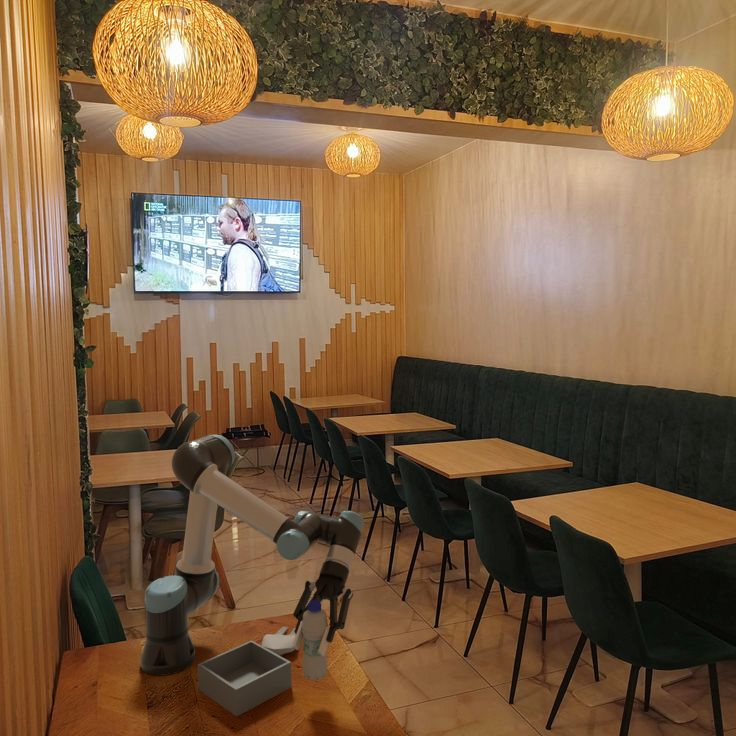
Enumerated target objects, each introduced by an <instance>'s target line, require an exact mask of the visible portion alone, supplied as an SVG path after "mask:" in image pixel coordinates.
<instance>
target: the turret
mask: <svg viewBox="0 0 736 736" xmlns="http://www.w3.org/2000/svg"><path fill="white" fill-rule="evenodd" d="M295 628H296V627H293V630H292V631H291V632H290V633H289V634H288V635H287V634H286V633H287V632H288V629H289V627H288V626H282V627H281V628H280V629H279V630H278V631H277V632H276V633H275V634H274V633H273V634H271V633H270V634H269V633H267V634H265V635H263V639H262V642H261V644H260V645H261V646H263V647H265V648H267V649H268V650H270V651H272V652H274V653H276V654H277V655H279V656H283V655H284V654H288V653H292V652H294V651H295V650H296V649H295V648H294V647H293V646H292V645H293V642H294V639H295V636H296V634H295Z"/></svg>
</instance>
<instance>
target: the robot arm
mask: <svg viewBox="0 0 736 736" xmlns="http://www.w3.org/2000/svg"><path fill="white" fill-rule="evenodd" d="M235 454H236V453H235V449H234V446H233V444H232V443H231V442H230V440H228V439H227V438H226V437H224V436H223V435H221V434H220V435H219V434H208V435H204V436H202V437H201V438H200V437H199V438H196V439H194V440H190V441H186V442H184V443H182V444H180V445H179V446H178V447H177V449H175V451H174V453H173V455H172V458H171V469H172V472H173V475H174V477H176V479H177V480H178V482H180V483H181V484H182V485H183V486H184V487H185V488H186V489H188V490H189V497H188V498H189V499H188V507H187V514H186V516H187V517H186V523H185V531H184V532H185V533H184V539H183V548H182V556H181V558H180V559H179V560H178V561H176V565H175V572H174V573H175V574H174V575H166V576H163V577H159V578H157V579H155V580H154V581H151V583H150V584H149V585H148V586H147V587H146V589H145V591H144V602H143V603H144V615H145V617H144V618H145V632H146V635H145V636H146V637H145V638H146V640H145V642H144V646H143V648H142V653H141V656H140V668H141V670H142V672H144V673H146V674H149V675H153V676H166V675H172V674H176V673H179V672H181V671H184V670H185V669H188V668H189V667H190V666H191V665H192V664H193V663H194V662H195V661H196V649H195V645H194V643H193V641H192V638H191V635H190V633H189V619H188V617H189V616H190V615H191V614H192V613H194V612H195V611H196V610H198V609H199V608H200V607H202V606H203V605H205V604H206V603H207V602H209V601H210V600H211V599H212V598H213V596H214V595H215V594H216V593H217V591H218V589H219V586H220V576H219V572H217V569H216V566H215V565H216V564H215V562H214V561H213V560H212V551H213V543H214V536H215V529H216V527H215V526H216V520H217V519H216V518H217V511H218V506H220V507H221V508H223V509H224V510H225V511H227V512H228V513H230V514H232V515H233V516H234V517H236V518H237V519H239V520H240V521H242V522H243V523H245V524H246V525H247V526H249V527H250V528H252V529H253V530H255V531H257V533H259V534H261V535H263V537H265V538H267V539H269V540H270V541H271V542H273V543H274V544H276V549H277V552H278V553H279V555H280V557H282V558H283V559H284V560H287V561H288V560H289V561H295V560H297V559H299V558H300V557H303V556H304V555H305V554H306V553H308V552H309V550H310V549H311V548H312V547H314V546H315V545H316V544H317V543H318V542H319V543H324V544H329V546H328V549H327V553H326V554H325V557H324V562H323V563H322V565H321V568H320V572H319V576H318V578H317V579H316V581H313V582H312V581H311V582H310V581H309V580H306V581H305V583H304V590H303V592H302V594H301V596H300V598H299V600H298V603H297V605H296V607H295V609H294V611H293V614H292V615H293V617H294V618H295V619H296V620H297V622H296V625H295V627H294V628H295V634H296V636H295V639H294V642H293V645H292V646H293V647H294V648H295V650H296V651H299V650H300V648H301V644H302V643H303V632H302V621H303V614H304V612H306V611H307V610H308V604H309V602H310V601H313V600H317V601H319V602H320V603H321V602H322V601H323V600H325V601H326V600H327V601H329V623H328V626H326V629H325V632H324V635H323V638H322V641H321V644H320V648H319V651H318V653H319V654H320V655H321V656H325V653H326V654H327V649H328V645H329V644H330V643H332V642H333V641H334V638H335V635H336V631H338V630H344V629H345V627H346V621H347V616H348V611H349V608H350V607H349V606H350V602H351V600H352V598H353V597H354V592H353V591H352V589H350V588H346V583H347V580H348V577H349V575H350V574H349V573H350V570H351V568H352V564H353V561H354V558H355V555H356V552H357V549H358V546H359V542H360V539H361V537H362V535H363V529H364V526H365V520H364V518H363V516H362V515H361V514H360V513H358V512H355V511H352V510H344V511H341V513H340V515H339V516H338V517H336V516H330V515H326V514H321V513H317V512H314V511H307V510H300V511H299V512H297V513H296V515H295V516H294V519H293V520H292V519H291V518H289V517H287V516H286V515H284V514H283V513H281V512H280V511H278V509H276V508H274V507H272V506H271V505H270V504H269V503H267V502H265V501H264V500H262V499H261V498H259V497H258V496H257V495H255V494H254V493H251V491H249V490H247V489H246V488H245V487H243V486H242V485H240V484H239V483H238V482H236V481H234V480H233V479H232V478H230V477H228V476H227V472H228V470H229V468H231V466H232V465H233V464H234V462H235V458H236V455H235ZM315 589H316V591H315ZM314 591H315V592H314ZM312 592H314V593H313V596H312ZM341 595H342V600H341V605H340V608H339V613H338V604H339V603H338V602H339V599H338V598H339V596H341ZM311 596H312V597H311ZM310 598H311V599H310ZM309 600H310V601H309Z"/></svg>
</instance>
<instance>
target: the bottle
mask: <svg viewBox="0 0 736 736" xmlns="http://www.w3.org/2000/svg"><path fill="white" fill-rule="evenodd" d="M308 603H309V604H308ZM308 603H307V605H308V610H307V611H306V612H304V614H303V621H302V632H303V639H302V647H303V657H302V672H303V676H304V677H305V679H306V680H308V679H310V681H311V682H314V681H315V678H317V681H321V680H322V678H325V677H326V675H327V672H328V660H327V659H328V657H327V652H326V653H325V656H321V655H320V654H319V653H318V651H319V648H320V644H321V641H322V638H323V635H324V632H325V629H326V626H328V627H329V623H328V617H327V616H328V615H327V612H326V611H325V610H324V609H322V603H321V602H319V601H317V600H313V601H308Z"/></svg>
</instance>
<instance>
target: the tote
mask: <svg viewBox="0 0 736 736" xmlns="http://www.w3.org/2000/svg"><path fill="white" fill-rule="evenodd" d="M261 645H262V644H259V643H257V642H256V641H254V640H252V639H251V640H250V641H248V642H245V643H242V644H240V645H238V646H236V647H233V648H231V649H229V650H227V651H225V652H223V653H220V654H218V655H216V656H213V657H211V658H209V659H207V660H205V661H203V662H201V663H200V662H199V663H198V664H197V678H198V679H197V680H198V683H197V685H198V688H197V689H198V691H200V693H202V694H204V695H205V696H206V697H208V698H210V700H213V702H215V703H217V704H218V705H219V704H220V705H219V706H221V707H222V708H224V709H225V710H226V709H227V710H226V711H228V712H230V713H231V714H232V715H234V716H235V717H239V716H241V715H243V714H244V713H246V712H248V711H250V710H251V709H253V708H256V707H257V706H259V705H261V704H263V703H264V702H265V703H266V701H268V700H270V699H272V698H274V697H276V696H278V695H280V694H282V693H284V692H286V691H287V690H289V689H290V688H292V662H291V661H290V660H288V659H286V658H284V657H282V655H280V656H279V655H277V654H276V653H274V652H272V651H270V650H268V649H267V648H265V647H263V646H261Z"/></svg>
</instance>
